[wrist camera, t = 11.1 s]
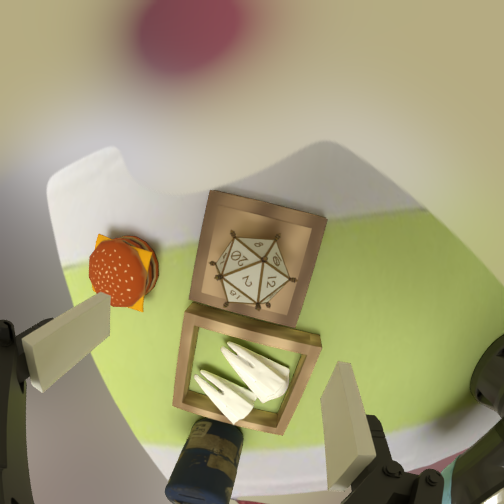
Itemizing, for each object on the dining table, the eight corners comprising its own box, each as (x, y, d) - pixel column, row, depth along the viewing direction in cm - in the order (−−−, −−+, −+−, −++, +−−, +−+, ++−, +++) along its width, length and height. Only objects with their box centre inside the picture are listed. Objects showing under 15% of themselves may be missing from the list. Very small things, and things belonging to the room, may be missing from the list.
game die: (244, 259, 38) (178, 268, 31) (280, 212, 33) (212, 210, 26) (281, 316, 34) (216, 340, 27) (327, 273, 30) (263, 291, 22)
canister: (238, 452, 45) (220, 527, 27) (190, 438, 45) (160, 510, 28) (250, 422, 43) (232, 508, 25) (196, 407, 43) (160, 487, 26)
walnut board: (324, 217, 35) (327, 219, 32) (294, 319, 38) (295, 328, 35) (215, 190, 36) (209, 190, 33) (194, 292, 39) (188, 299, 36)
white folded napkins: (297, 375, 39) (249, 322, 39) (297, 392, 35) (244, 335, 35) (236, 409, 42) (189, 363, 41) (232, 426, 38) (180, 377, 37)
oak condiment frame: (319, 335, 38) (322, 347, 34) (283, 421, 42) (282, 435, 38) (192, 301, 39) (184, 311, 36) (179, 393, 43) (172, 405, 40)
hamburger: (164, 241, 38) (142, 252, 32) (155, 304, 40) (135, 323, 34) (109, 226, 39) (82, 233, 32) (104, 285, 41) (79, 300, 34)
